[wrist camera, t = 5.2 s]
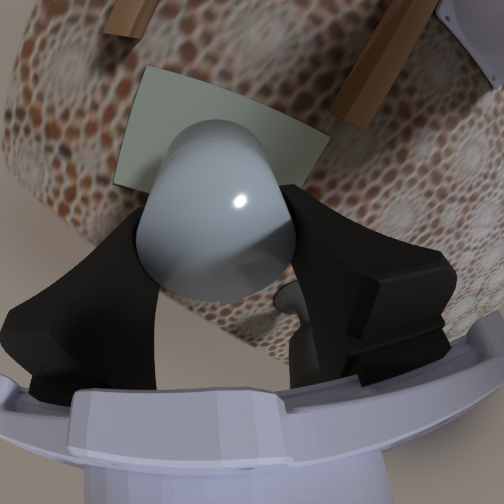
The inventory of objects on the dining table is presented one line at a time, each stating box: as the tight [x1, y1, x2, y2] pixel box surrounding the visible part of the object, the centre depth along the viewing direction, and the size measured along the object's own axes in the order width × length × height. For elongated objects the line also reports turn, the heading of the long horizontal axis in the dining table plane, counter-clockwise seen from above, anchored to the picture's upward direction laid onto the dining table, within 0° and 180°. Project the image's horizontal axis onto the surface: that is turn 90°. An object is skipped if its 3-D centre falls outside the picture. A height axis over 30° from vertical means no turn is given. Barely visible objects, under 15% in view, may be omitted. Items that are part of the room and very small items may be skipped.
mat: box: [114, 66, 331, 193], centre depth 16 cm, size 12×8×1 cm, turn 65°
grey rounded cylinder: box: [136, 119, 296, 305], centre depth 11 cm, size 7×5×6 cm
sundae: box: [274, 281, 322, 389], centre depth 20 cm, size 7×7×15 cm
